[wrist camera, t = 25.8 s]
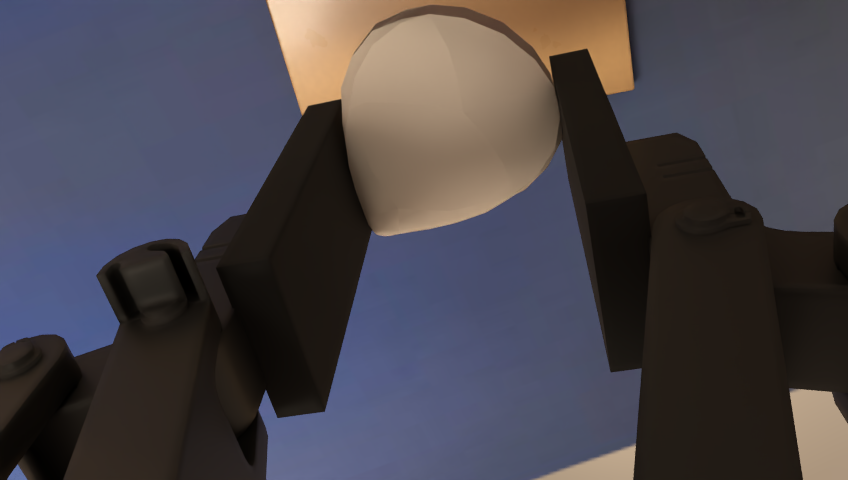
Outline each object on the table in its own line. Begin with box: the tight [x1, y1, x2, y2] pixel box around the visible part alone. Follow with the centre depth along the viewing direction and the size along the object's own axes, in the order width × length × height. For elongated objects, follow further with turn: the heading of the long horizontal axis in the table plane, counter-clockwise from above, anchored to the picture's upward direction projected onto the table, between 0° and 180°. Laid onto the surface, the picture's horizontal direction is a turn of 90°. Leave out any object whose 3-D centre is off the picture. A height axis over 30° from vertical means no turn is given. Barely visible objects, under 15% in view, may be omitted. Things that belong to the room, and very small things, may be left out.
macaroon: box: [341, 4, 562, 236], centre depth 16 cm, size 4×5×2 cm
